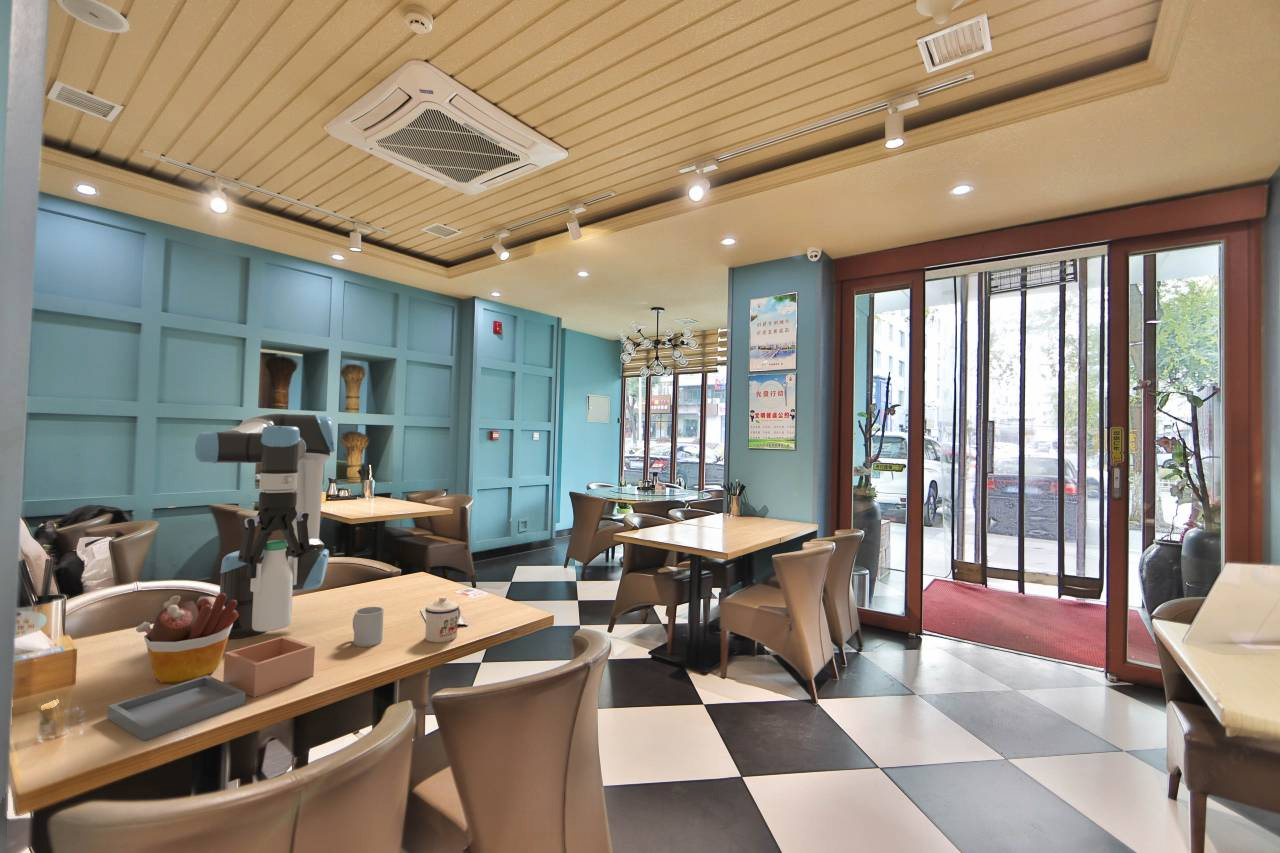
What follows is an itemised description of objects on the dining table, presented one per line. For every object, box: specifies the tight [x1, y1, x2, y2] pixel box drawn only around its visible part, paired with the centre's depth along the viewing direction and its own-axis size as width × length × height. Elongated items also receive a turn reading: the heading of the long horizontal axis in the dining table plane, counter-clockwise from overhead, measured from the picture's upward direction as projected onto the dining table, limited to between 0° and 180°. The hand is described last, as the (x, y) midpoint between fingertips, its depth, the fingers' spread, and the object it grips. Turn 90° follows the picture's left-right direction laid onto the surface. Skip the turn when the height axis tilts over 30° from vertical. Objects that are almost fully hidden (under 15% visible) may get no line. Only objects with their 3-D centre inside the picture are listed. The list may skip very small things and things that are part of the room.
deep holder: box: [222, 635, 316, 698], centre depth 128 cm, size 13×13×7 cm
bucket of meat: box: [135, 592, 239, 684], centre depth 130 cm, size 20×16×20 cm
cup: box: [352, 606, 384, 648], centre depth 154 cm, size 7×10×9 cm
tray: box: [107, 674, 247, 742], centre depth 113 cm, size 16×17×2 cm
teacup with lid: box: [424, 595, 462, 644], centre depth 160 cm, size 12×9×12 cm
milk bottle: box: [252, 539, 293, 633], centre depth 129 cm, size 8×8×20 cm
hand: (273, 587), depth 129 cm, fingers closed on milk bottle, 7 cm apart
